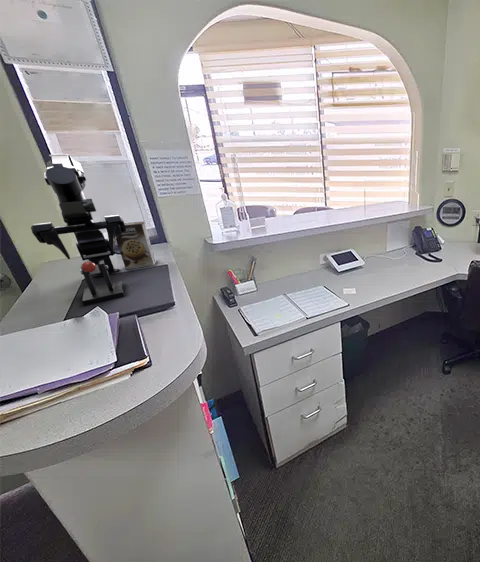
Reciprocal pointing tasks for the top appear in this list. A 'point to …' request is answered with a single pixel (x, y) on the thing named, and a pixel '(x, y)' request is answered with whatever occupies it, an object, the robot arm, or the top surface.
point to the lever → (91, 268)
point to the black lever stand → (101, 287)
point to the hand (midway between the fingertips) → (91, 254)
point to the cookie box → (135, 246)
